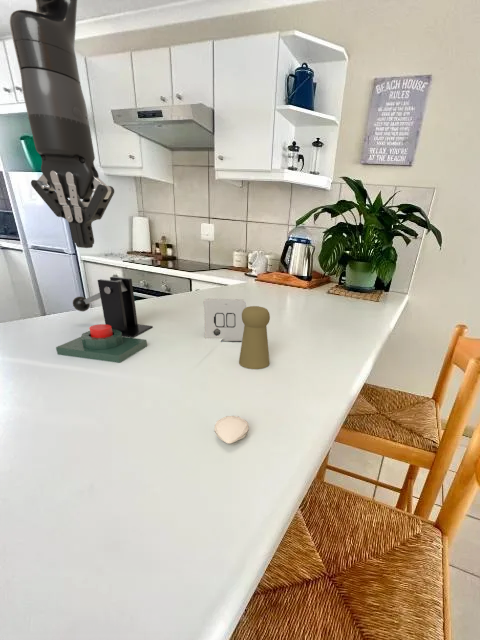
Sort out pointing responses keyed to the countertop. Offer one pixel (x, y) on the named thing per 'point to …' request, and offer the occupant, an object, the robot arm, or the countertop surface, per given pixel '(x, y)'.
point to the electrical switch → (224, 319)
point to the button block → (102, 347)
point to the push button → (101, 331)
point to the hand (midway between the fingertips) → (84, 247)
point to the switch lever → (90, 299)
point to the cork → (255, 338)
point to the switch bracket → (120, 307)
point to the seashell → (231, 429)
